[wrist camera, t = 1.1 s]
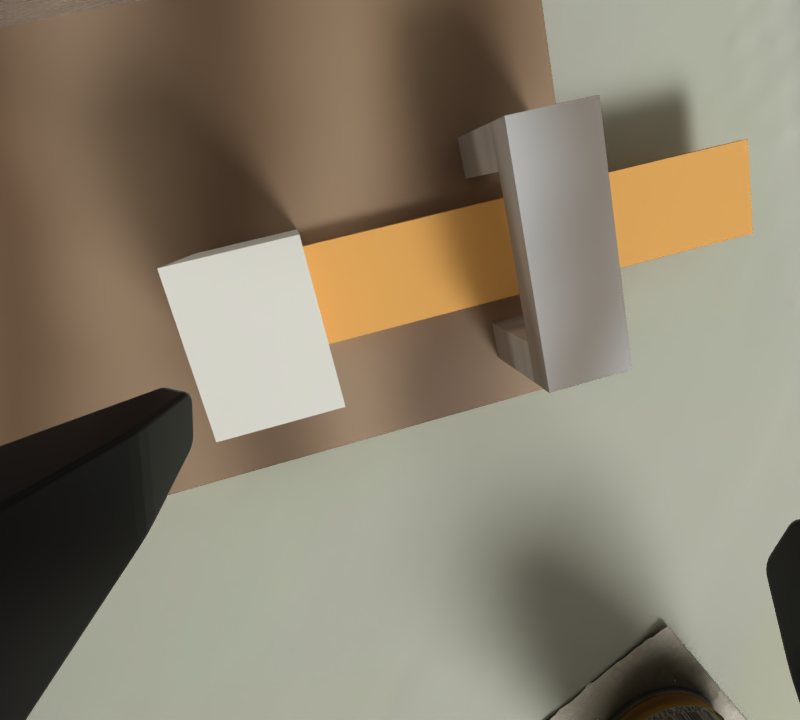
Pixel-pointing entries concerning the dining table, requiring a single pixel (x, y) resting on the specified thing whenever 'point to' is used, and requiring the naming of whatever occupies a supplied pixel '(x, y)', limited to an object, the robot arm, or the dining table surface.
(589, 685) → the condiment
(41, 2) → the silver square frame
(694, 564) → the dining table surface
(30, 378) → the board
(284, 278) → the bolt
